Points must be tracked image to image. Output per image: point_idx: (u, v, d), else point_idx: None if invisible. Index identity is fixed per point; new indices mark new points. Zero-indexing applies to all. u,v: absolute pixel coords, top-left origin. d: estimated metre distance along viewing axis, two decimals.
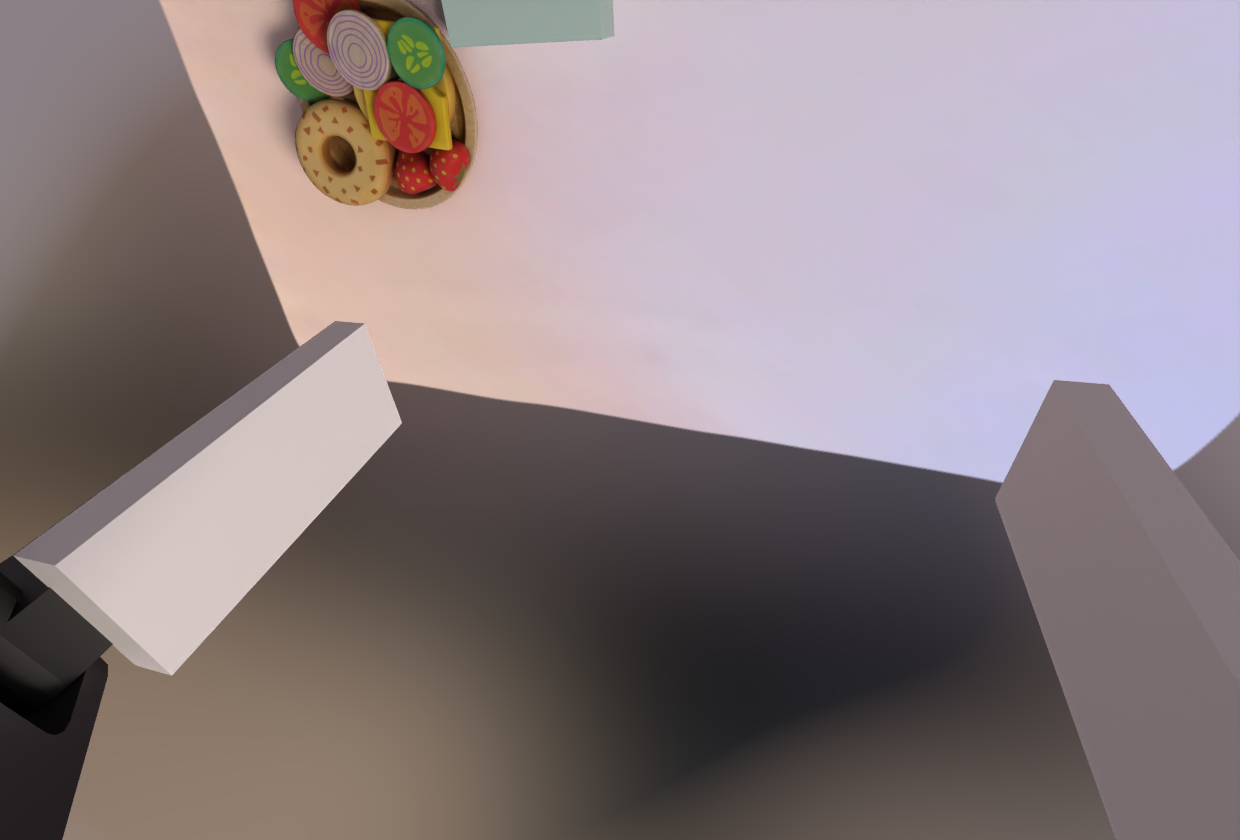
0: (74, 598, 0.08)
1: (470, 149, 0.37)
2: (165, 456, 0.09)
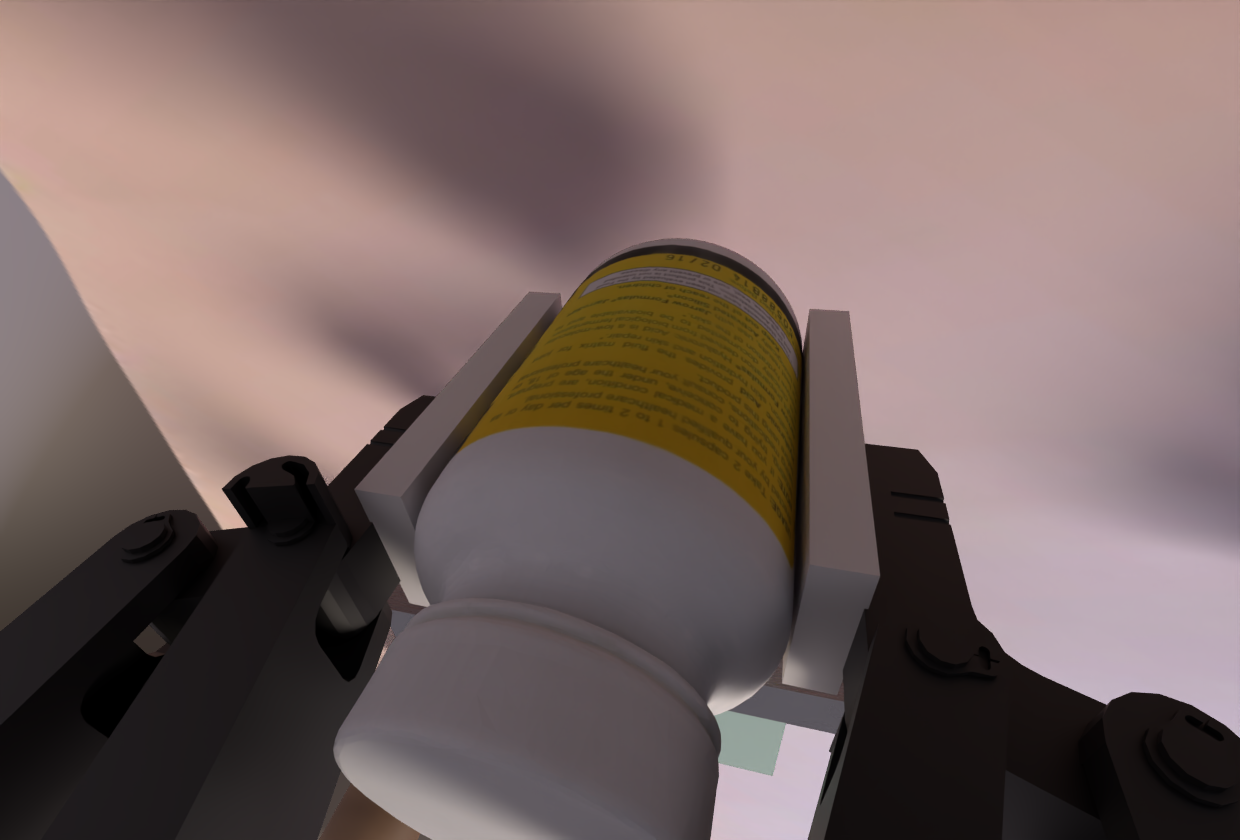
0: (396, 532, 0.08)
1: None
2: (443, 407, 0.09)
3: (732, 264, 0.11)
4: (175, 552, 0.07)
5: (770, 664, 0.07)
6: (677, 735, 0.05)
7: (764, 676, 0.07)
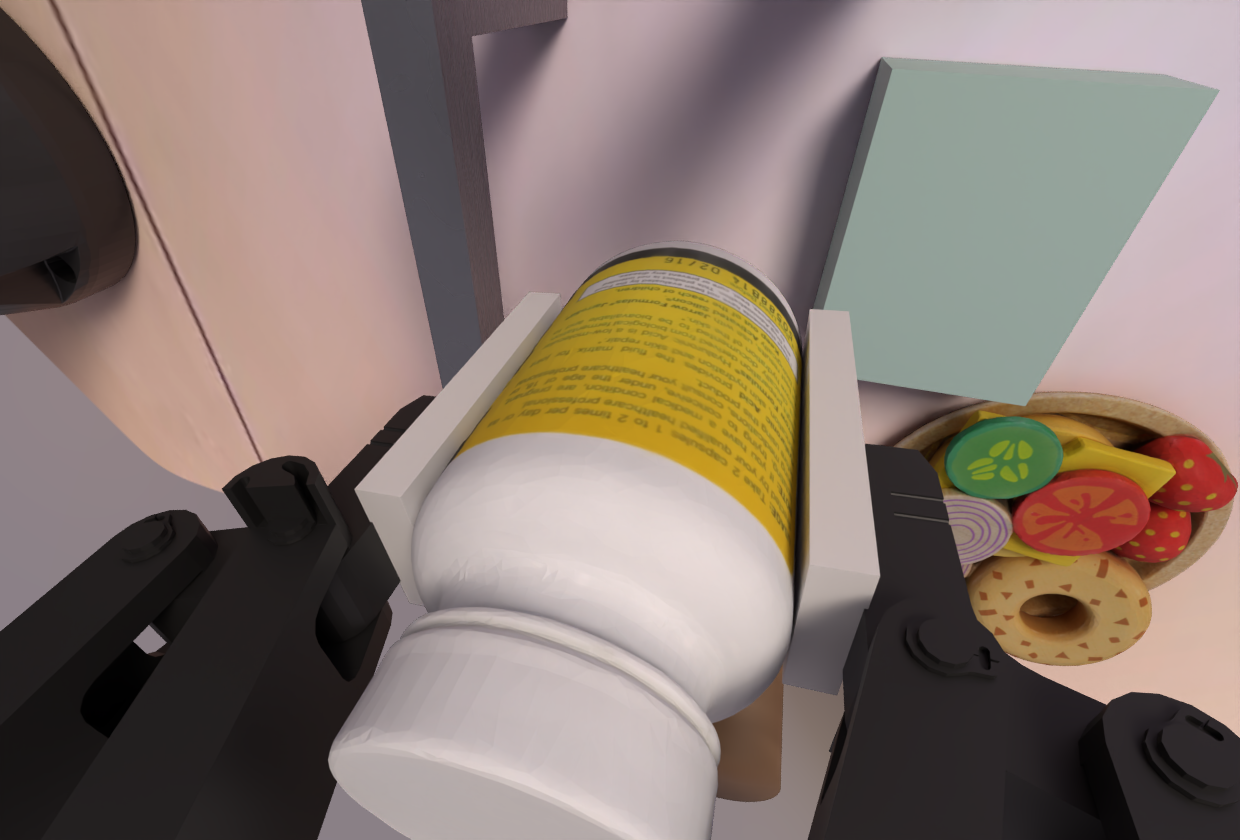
0: (396, 532, 0.08)
1: (1178, 430, 0.19)
2: (442, 407, 0.09)
3: (731, 267, 0.10)
4: (175, 552, 0.07)
5: (770, 672, 0.07)
6: (674, 747, 0.05)
7: (764, 684, 0.07)
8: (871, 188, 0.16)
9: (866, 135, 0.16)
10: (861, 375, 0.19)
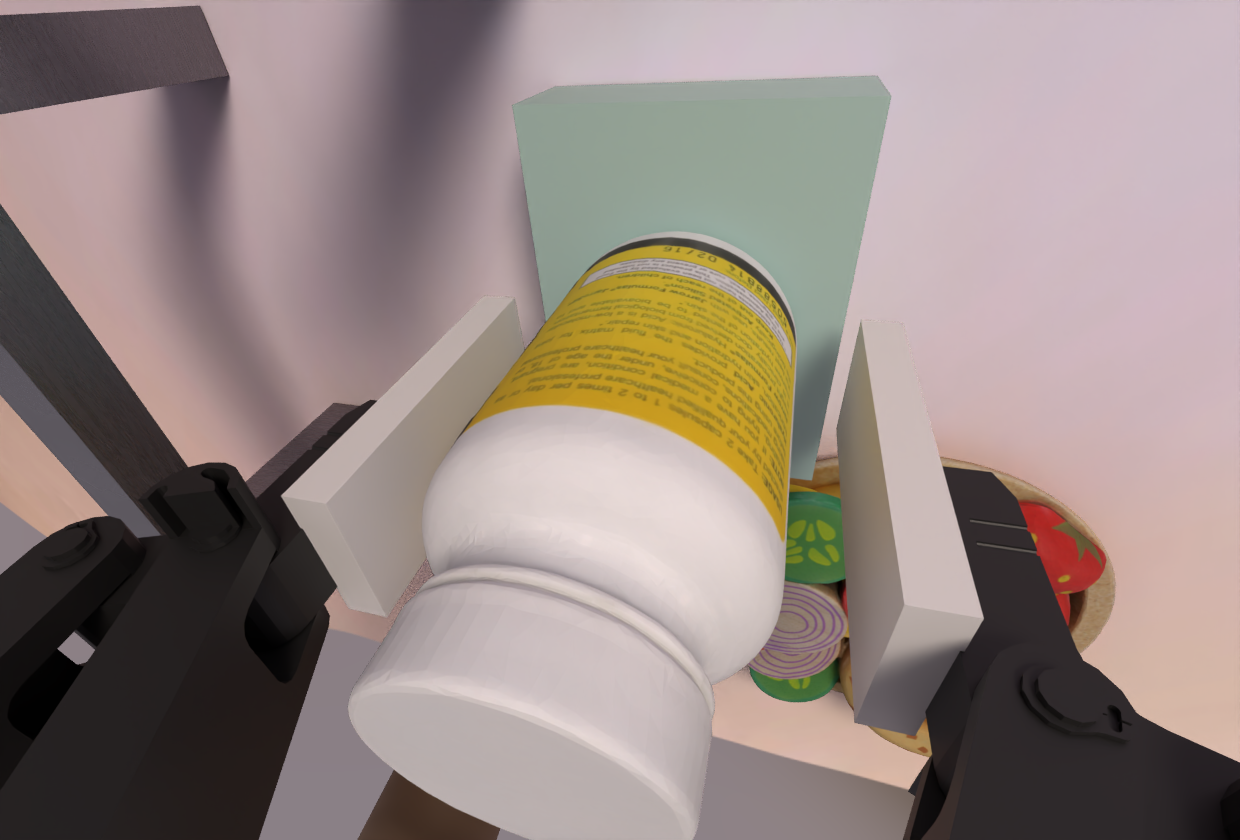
0: (326, 538, 0.08)
1: (1020, 495, 0.15)
2: (381, 412, 0.09)
3: (728, 256, 0.11)
4: (101, 556, 0.07)
5: (762, 632, 0.07)
6: (670, 690, 0.06)
7: (756, 645, 0.07)
8: (547, 244, 0.13)
9: None
10: None
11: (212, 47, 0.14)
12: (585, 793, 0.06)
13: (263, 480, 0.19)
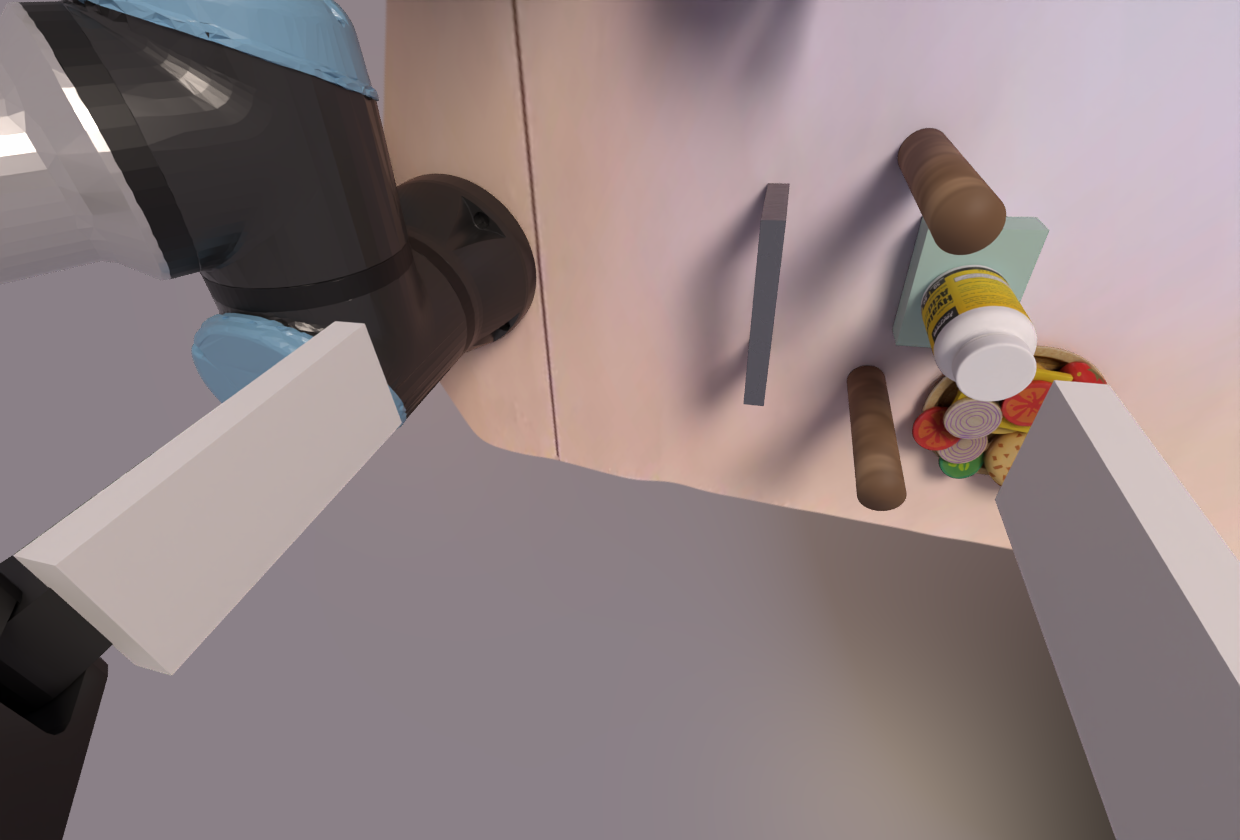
0: (75, 598, 0.08)
1: (1074, 359, 0.41)
2: (165, 456, 0.09)
3: (995, 272, 0.37)
4: None
5: None
6: (1030, 351, 0.32)
7: None
8: (922, 267, 0.39)
9: (918, 246, 0.39)
10: (922, 344, 0.42)
11: None
12: (1014, 370, 0.32)
13: None
